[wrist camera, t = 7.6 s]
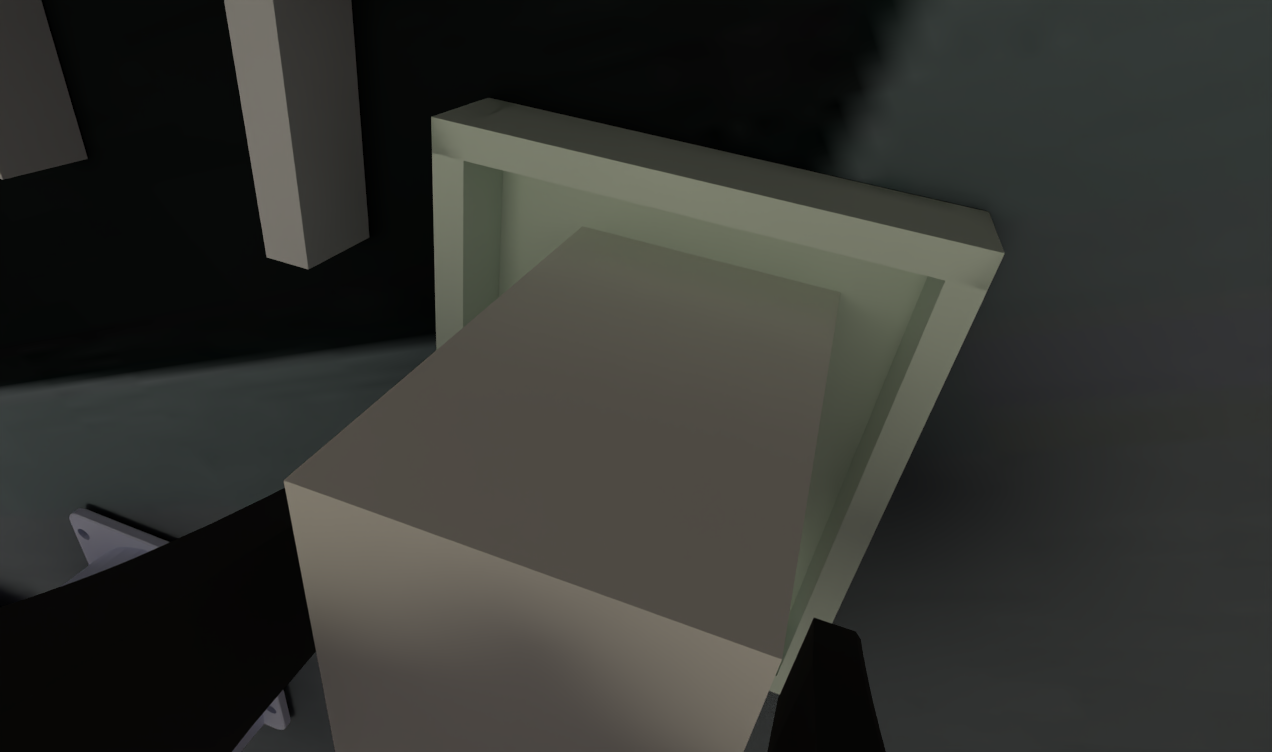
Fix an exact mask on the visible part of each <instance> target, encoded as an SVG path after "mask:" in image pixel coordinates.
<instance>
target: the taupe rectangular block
mask: <svg viewBox="0 0 1272 752" xmlns="http://www.w3.org/2000/svg"><path fill="white" fill-rule="evenodd" d="M840 293H841V292H837V291H833V290H829V289H825V288H821V287H817V286H813V285H809V284H805V283H802V282H798V281H794V280H790V279H786V278H782V277H778V276H774V275H770V274H766V273H762V272H759V271H755V270H751V269H747V268H743V267H739V266H735V265H731V264H727V263H723V262H719V261H716V260H712V259H708V258H704V257H700V256H696V255H692V254H688V253H684V252H680V251H677V250H673V249H669V248H665V247H661V246H657V245H653V244H649V243H645V242H641V241H637V240H634V239H630V238H626V237H622V236H618V235H614V234H610V233H606V232H602V231H598V230H594V229H591V228H587V227H583V226H582V227H581V228H580V229H578V230H577V231H576V232H575V233H574V234H573V235H571V236H570V237H569V238H568V239H567V240H566V241H564V242H563V243H562V244H561V245H560V246H558V247H557V248H556V249H555V250H554V251H553V252H551V253H550V254H549V255H548V256H547V257H546V258H544V259H543V260H542V261H541V262H540V263H538V264H537V265H536V266H535V267H534V268H533V269H531V270H530V271H529V272H528V273H527V274H526V275H524V276H523V277H522V278H521V279H520V280H518V281H517V282H516V283H515V284H514V285H513V286H511V287H510V288H509V289H508V290H507V291H506V292H504V293H503V294H502V295H501V296H500V297H498V298H497V299H496V300H495V301H494V302H493V303H491V304H490V305H489V306H488V307H487V308H486V309H484V310H483V311H482V312H481V313H480V314H478V315H477V316H476V317H475V318H474V319H473V320H471V321H470V322H469V323H468V324H467V325H466V326H464V327H463V328H462V329H461V330H460V331H458V332H457V333H456V334H455V335H454V336H453V337H451V338H450V339H449V340H448V341H447V342H446V343H444V344H443V345H442V346H441V347H440V348H439V349H437V350H436V351H435V352H434V353H433V354H431V355H430V356H429V357H428V358H427V359H426V360H424V361H423V362H422V363H421V364H420V365H419V366H417V367H416V368H415V369H414V370H413V371H411V372H410V373H409V374H408V375H407V376H406V377H404V378H403V379H402V380H401V381H400V382H399V383H397V384H396V385H395V386H394V387H393V388H391V389H390V390H389V391H388V392H387V393H386V394H384V395H383V396H382V397H381V398H380V399H379V400H377V401H376V402H375V403H374V404H373V405H371V406H370V407H369V408H368V409H367V410H366V411H364V412H363V413H362V414H361V415H360V416H359V417H357V418H356V419H355V420H354V421H353V422H351V423H350V424H349V425H348V426H347V427H346V428H344V429H343V430H342V431H341V432H340V433H339V434H337V435H336V436H335V437H334V438H333V439H331V440H330V441H329V442H328V443H327V444H326V445H324V446H323V447H322V448H321V449H320V450H319V451H317V452H316V453H315V454H314V455H313V456H311V457H310V458H309V459H308V460H307V461H306V462H304V463H303V464H302V465H301V466H300V467H299V468H297V469H296V470H295V471H294V472H293V473H291V474H290V475H289V476H288V477H287V478H286V479H284V485H285V491H286V496H287V501H288V506H289V512H290V517H291V522H292V527H293V533H294V538H295V543H296V548H297V554H298V559H299V564H300V569H301V575H302V580H303V585H304V590H305V596H306V601H307V606H308V611H309V617H310V622H311V627H312V632H313V638H314V643H315V648H316V653H317V659H318V664H319V669H320V675H321V680H322V685H323V690H324V696H325V701H326V706H327V711H328V717H329V722H330V727H331V732H332V738H333V743H334V748H335V752H744V749H745V747H746V744H747V742H748V740H749V737H750V735H751V732H752V730H753V728H754V725H755V723H756V721H757V718H758V716H759V713H760V711H761V709H762V706H763V704H764V701H765V699H766V697H767V694H768V692H769V689H770V687H771V685H772V682H773V680H774V677H775V675H776V673H777V670H778V668H779V665H780V663H781V661H782V656H783V650H784V644H785V637H786V631H787V625H788V619H789V612H790V606H791V600H792V593H793V587H794V581H795V575H796V568H797V562H798V556H799V550H800V543H801V537H802V531H803V524H804V518H805V512H806V506H807V499H808V493H809V487H810V481H811V474H812V468H813V462H814V456H815V449H816V443H817V437H818V430H819V424H820V418H821V412H822V405H823V399H824V393H825V387H826V380H827V374H828V368H829V361H830V355H831V349H832V343H833V336H834V330H835V324H836V318H837V311H838V305H839V299H840Z"/></svg>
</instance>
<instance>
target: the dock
mask: <svg viewBox="0 0 1272 752" xmlns="http://www.w3.org/2000/svg"><path fill="white" fill-rule="evenodd" d="M224 2H225V8H226V14H227V20H228V26H229V32H230V38H231V45H232V51H233V57H234V63H235V69H236V75H237V81H238V87H239V93H240V99H241V105H242V111H243V117H244V123H245V129H246V135H247V141H248V147H249V153H250V159H251V165H252V171H253V177H254V183H255V189H256V195H257V201H258V208H259V214H260V220H261V226H262V232H263V238H264V244H265V250H266V256H267V257H268V258H271V259H275V260H278V261H281V262H285V263H288V264H292V265H295V266H298V267H302V268H305V269H310V268H312V267H314V266H316V265H318V264H320V263H322V262H323V261H325V260H327V259H329V258H331V257H333V256H335V255H337V254H339V253H341V252H342V251H344V250H346V249H348V248H350V247H352V246H354V245H356V244H358V243H360V242H361V241H363V240H365V239H367V238H369V226H368V213H367V200H366V187H365V174H364V160H363V147H362V134H361V121H360V108H359V95H358V82H357V69H356V55H355V42H354V29H353V16H352V3H351V0H224ZM85 159H88V158H87V154H86V151H85V147H84V144H83V141H82V137H81V134H80V130H79V127H78V124H77V120H76V117H75V114H74V110H73V107H72V103H71V100H70V97H69V93H68V90H67V86H66V83H65V80H64V76H63V73H62V69H61V66H60V63H59V59H58V56H57V52H56V49H55V46H54V42H53V39H52V35H51V32H50V29H49V25H48V22H47V18H46V15H45V12H44V8H43V5H42V1H41V0H0V179H7V178H11V177H15V176H19V175H23V174H27V173H32V172H36V171H40V170H44V169H48V168H52V167H56V166H60V165H64V164H68V163H72V162H77V161H81V160H85Z"/></svg>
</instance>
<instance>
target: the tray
mask: <svg viewBox="0 0 1272 752" xmlns="http://www.w3.org/2000/svg"><path fill="white" fill-rule="evenodd" d="M431 126H432V172H433V218H434V264H435V310H436V350H437V349H439V348H440V347H441V346H442V345H443V344H444V343H446V342H447V341H448V340H449V339H450V338H451V337H453V336H454V335H455V334H456V333H457V332H458V331H460V330H461V329H462V328H463V327H464V326H466V325H467V324H468V323H469V322H470V321H471V320H473V319H474V318H475V317H476V316H477V315H478V314H480V313H481V312H482V311H483V310H484V309H486V308H487V307H488V306H489V305H490V304H491V303H493V302H494V301H495V300H496V299H497V298H498V297H500V296H501V295H502V294H503V293H504V292H506V291H507V290H508V289H509V288H510V287H511V286H513V285H514V284H515V283H516V282H517V281H518V280H520V279H521V278H522V277H523V276H524V275H526V274H527V273H528V272H529V271H530V270H531V269H533V268H534V267H535V266H536V265H537V264H538V263H540V262H541V261H542V260H543V259H544V258H546V257H547V256H548V255H549V254H550V253H551V252H553V251H554V250H555V249H556V248H557V247H558V246H560V245H561V244H562V243H563V242H564V241H566V240H567V239H568V238H569V237H570V236H571V235H573V234H574V233H575V232H576V231H577V230H578V229H580V228H581V227H582V226H583V227H587V228H591V229H594V230H598V231H602V232H606V233H610V234H614V235H618V236H622V237H626V238H630V239H634V240H637V241H641V242H645V243H649V244H653V245H657V246H661V247H665V248H669V249H673V250H677V251H680V252H684V253H688V254H692V255H696V256H700V257H704V258H708V259H712V260H716V261H719V262H723V263H727V264H731V265H735V266H739V267H743V268H747V269H751V270H755V271H759V272H762V273H766V274H770V275H774V276H778V277H782V278H786V279H790V280H794V281H798V282H802V283H805V284H809V285H813V286H817V287H821V288H825V289H829V290H833V291H837V292H841V293H840V299H839V305H838V311H837V318H836V324H835V330H834V336H833V343H832V349H831V355H830V361H829V368H828V374H827V380H826V387H825V393H824V399H823V405H822V412H821V418H820V424H819V430H818V437H817V443H816V449H815V456H814V462H813V468H812V474H811V481H810V487H809V493H808V499H807V506H806V512H805V518H804V524H803V531H802V537H801V543H800V550H799V556H798V562H797V568H796V575H795V581H794V587H793V593H792V600H791V606H790V612H789V619H788V625H787V631H786V637H785V644H784V650H783V656H782V661H781V663H780V665H779V668H778V670H777V673H776V675H775V677H774V680H773V682H772V685H771V687H770V689H769V691H771V692H774V693H776V694H779V695H780V693H781V691H782V688H783V686H784V684H785V682H786V679H787V677H788V675H789V673H790V670H791V668H792V666H793V663H794V661H795V659H796V657H797V654H798V652H799V650H800V648H801V645H802V643H803V641H804V639H805V636H806V634H807V632H808V629H809V627H810V625H811V623H812V620H813V618H817V619H820V620H823V621H826V622H829V623H832V622H833V620H834V618H835V616H836V614H837V612H838V609H839V607H840V605H841V603H842V601H843V599H844V597H845V594H846V592H847V590H848V588H849V586H850V584H851V582H852V579H853V577H854V575H855V573H856V571H857V569H858V567H859V564H860V562H861V560H862V558H863V556H864V554H865V552H866V549H867V547H868V545H869V543H870V541H871V539H872V537H873V534H874V532H875V530H876V528H877V526H878V524H879V522H880V519H881V517H882V515H883V513H884V511H885V509H886V507H887V504H888V502H889V500H890V498H891V496H892V494H893V492H894V489H895V487H896V485H897V483H898V481H899V479H900V477H901V474H902V472H903V470H904V468H905V466H906V464H907V462H908V459H909V457H910V455H911V453H912V451H913V449H914V447H915V444H916V442H917V440H918V438H919V436H920V434H921V432H922V429H923V427H924V425H925V423H926V421H927V419H928V417H929V414H930V412H931V410H932V408H933V406H934V404H935V402H936V399H937V397H938V395H939V393H940V391H941V389H942V387H943V385H944V382H945V380H946V378H947V376H948V374H949V372H950V370H951V367H952V365H953V363H954V361H955V359H956V357H957V355H958V352H959V350H960V348H961V346H962V344H963V342H964V340H965V337H966V335H967V333H968V331H969V329H970V327H971V325H972V322H973V320H974V318H975V316H976V314H977V312H978V310H979V307H980V305H981V303H982V301H983V299H984V297H985V295H986V292H987V290H988V288H989V286H990V284H991V282H992V280H993V277H994V275H995V273H996V271H997V269H998V267H999V265H1000V262H1001V260H1002V258H1003V256H1004V254H1005V253H1004V250H1003V248H1002V245H1001V242H1000V240H999V237H998V235H997V232H996V229H995V227H994V224H993V221H992V219H991V216H990V214H989V212H987V211H983V210H978V209H974V208H969V207H965V206H961V205H956V204H952V203H948V202H943V201H939V200H934V199H930V198H926V197H921V196H917V195H913V194H908V193H904V192H899V191H895V190H891V189H886V188H882V187H878V186H873V185H869V184H864V183H860V182H856V181H851V180H847V179H843V178H838V177H834V176H829V175H825V174H821V173H816V172H812V171H808V170H803V169H799V168H794V167H790V166H786V165H781V164H777V163H773V162H768V161H764V160H759V159H755V158H751V157H746V156H742V155H738V154H733V153H729V152H724V151H720V150H716V149H711V148H707V147H703V146H698V145H694V144H689V143H685V142H681V141H676V140H672V139H668V138H663V137H659V136H654V135H650V134H646V133H641V132H637V131H633V130H628V129H624V128H619V127H615V126H611V125H606V124H602V123H598V122H593V121H589V120H584V119H580V118H576V117H571V116H567V115H563V114H558V113H554V112H549V111H545V110H541V109H536V108H532V107H528V106H523V105H519V104H514V103H510V102H506V101H501V100H497V99H493V98H486V99H483V100H480V101H477V102H474V103H471V104H468V105H465V106H462V107H459V108H456V109H453V110H450V111H447V112H444V113H441V114H438V115H435V116H432V117H431Z"/></svg>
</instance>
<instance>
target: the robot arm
mask: <svg viewBox="0 0 1272 752" xmlns="http://www.w3.org/2000/svg"><path fill="white" fill-rule="evenodd" d="M69 519H70V522H71V524H72V527H73V529H74V531H75V534H76V536H77V538H78V541H79V543H80V545H81V548H82V550H83V552H84V554H85V557H86V559H87V561H88V564H89V566H87V567H86V568H85V569H83V570H82V571H81V572H79V573H78V574H77V575H75V576H74V577H73V578H71V579H70V580H69V581H67V582H66V583H65V584H63V585H62V586H61V587H58V588H56V589H53V590H50V591H48V592H45V593H42V594H39V595H36V596H33V597H31V598H28V599H25V600H22V601H19V602H15V603H12V604H9V605H6V606H3V607H0V752H241V751H242V750H243V749H244V747H245V746H246V745H247V744H248V743H249V741H250V740H251V739H252V738H253V737H254V735H255V734H256V733H257V732H258V730H259V729H260V728H261V727H262V726H263V724H266V725H269V726H271V727H273V728H275V729H278V730H284V729H285V728H286V727H287V725H288V724H289V723H290V715H289V711H288V706H287V702H286V698H285V694H284V690H283V689H284V688H285V687H286V686H287V685H288V683H289V682H290V681H291V680H292V679H293V677H294V676H295V675H296V674H297V673H298V672H299V670H300V669H301V668H302V667H303V666H304V665H305V663H306V662H307V661H308V660H309V659H310V658H311V656H312V655H313V654H314V653H315V652H316V648H315V643H314V638H313V632H312V627H311V622H310V617H309V611H308V606H307V601H306V596H305V590H304V585H303V580H302V575H301V569H300V564H299V559H298V554H297V548H296V543H295V538H294V533H293V527H292V522H291V517H290V512H289V506H288V501H287V496H286V491H285V488H284V489H282V490H280V491H278V492H276V493H274V494H272V495H270V496H268V497H266V498H264V499H262V500H259V501H257V502H255V503H253V504H251V505H249V506H247V507H245V508H243V509H241V510H239V511H237V512H235V513H233V514H231V515H229V516H226V517H224V518H222V519H220V520H218V521H216V522H214V523H212V524H210V525H208V526H206V527H203V528H201V529H199V530H196V531H194V532H192V533H190V534H187V535H185V536H183V537H181V538H178V539H176V540H174V541H172V542H169V541H166V540H163V539H161V538H158V537H156V536H153V535H151V534H148V533H146V532H143V531H141V530H138V529H136V528H133V527H131V526H128V525H126V524H123V523H120V522H118V521H115V520H113V519H110V518H108V517H105V516H103V515H100V514H98V513H95V512H93V511H90V510H88V509H84V508H79V509H77V510H76V511H74V512H73V513H71V514H70V516H69ZM768 752H886V751H885V747H884V744H883V740H882V736H881V732H880V728H879V724H878V720H877V716H876V712H875V708H874V704H873V700H872V695H871V691H870V687H869V682H868V677H867V672H866V667H865V662H864V657H863V651H862V645H861V639H860V638H859V636H858V635H857V633H856V632H855V631H852V630H849V629H846V628H843V627H840V626H837V625H835V624H832V623H829V622H826V621H823V620H820V619H817V618H813V620H812V623H811V625H810V627H809V629H808V632H807V634H806V636H805V639H804V641H803V643H802V645H801V648H800V650H799V652H798V654H797V657H796V659H795V661H794V663H793V666H792V668H791V670H790V673H789V675H788V677H787V679H786V682H785V684H784V686H783V688H782V691H781V693H780V695H779V698H778V702H777V707H776V712H775V717H774V722H773V727H772V732H771V736H770V742H769V747H768Z"/></svg>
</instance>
